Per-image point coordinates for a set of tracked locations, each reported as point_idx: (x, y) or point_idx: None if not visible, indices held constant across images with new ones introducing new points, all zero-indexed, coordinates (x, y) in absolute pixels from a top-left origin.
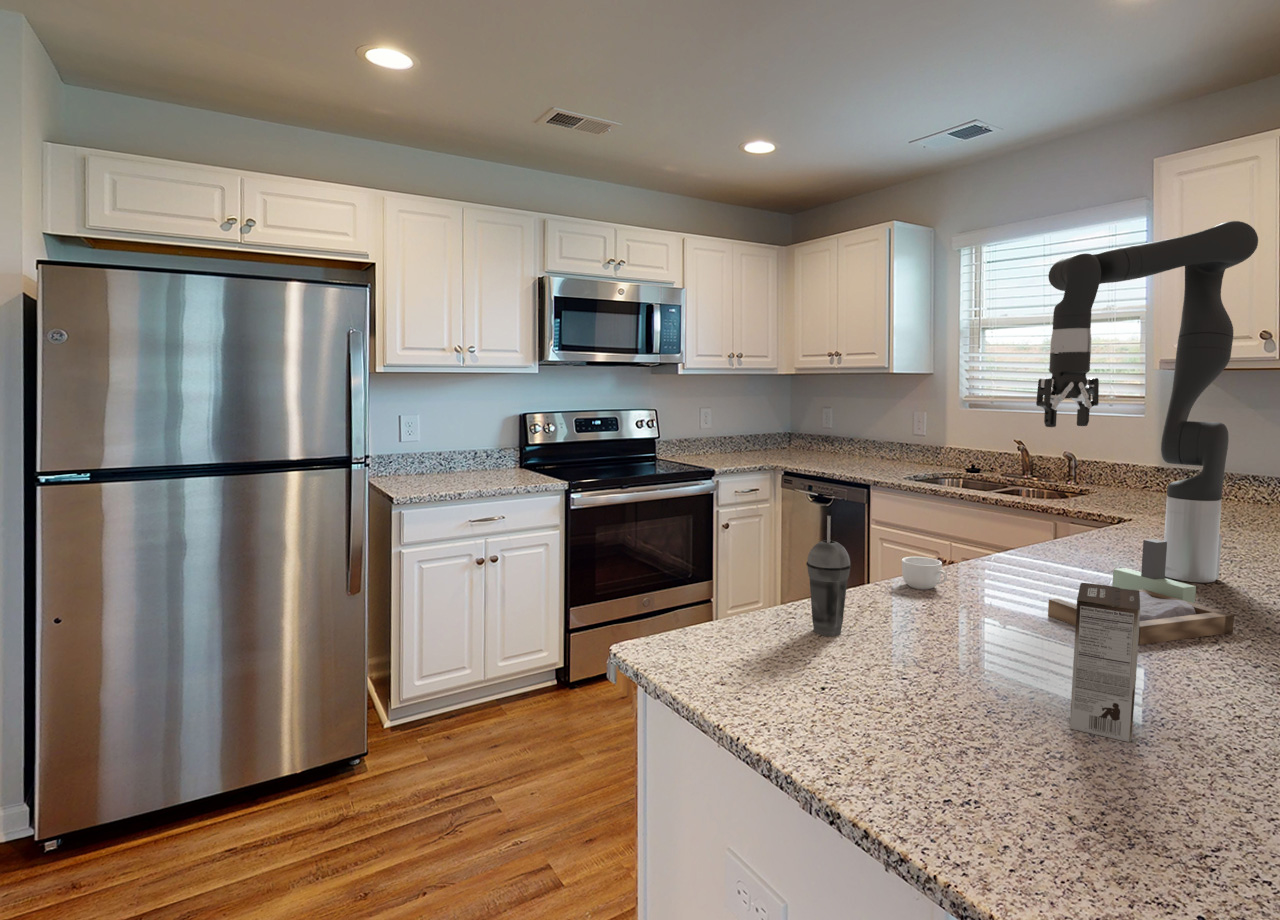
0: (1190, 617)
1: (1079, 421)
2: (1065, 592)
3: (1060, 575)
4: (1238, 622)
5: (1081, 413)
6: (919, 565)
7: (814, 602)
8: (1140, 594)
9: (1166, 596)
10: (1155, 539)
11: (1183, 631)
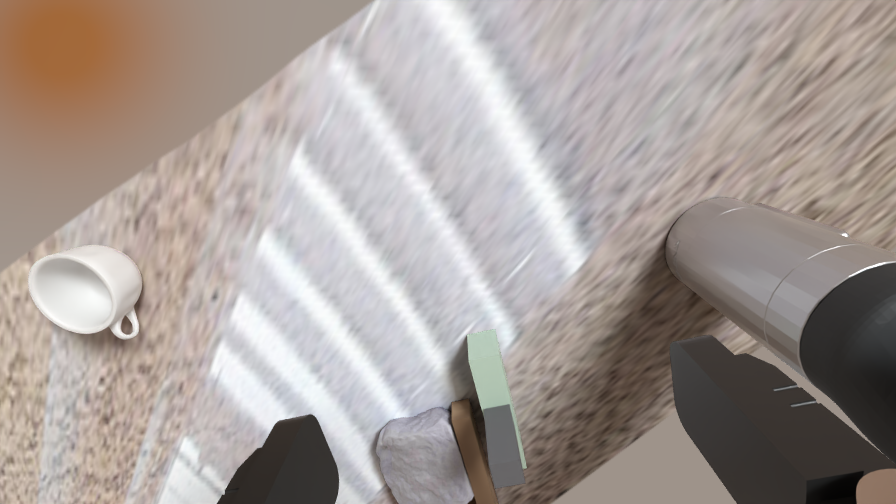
0: None
1: (697, 388)
2: (383, 326)
3: (448, 207)
4: (545, 473)
5: (757, 482)
6: (63, 327)
7: None
8: (440, 443)
9: (475, 453)
10: (518, 464)
11: None
